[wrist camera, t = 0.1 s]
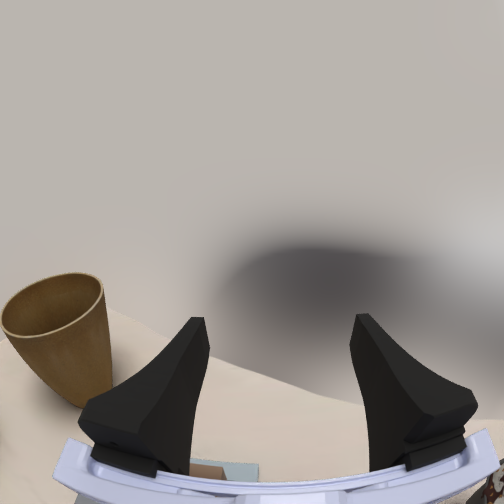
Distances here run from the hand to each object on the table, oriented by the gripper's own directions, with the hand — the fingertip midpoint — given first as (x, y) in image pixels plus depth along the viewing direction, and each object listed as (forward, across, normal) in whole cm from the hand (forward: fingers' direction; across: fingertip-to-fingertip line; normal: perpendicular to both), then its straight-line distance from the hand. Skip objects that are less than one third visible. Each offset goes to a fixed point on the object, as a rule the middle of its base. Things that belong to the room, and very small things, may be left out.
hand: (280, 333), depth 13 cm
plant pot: (+8, +26, +22) cm, 35 cm away
